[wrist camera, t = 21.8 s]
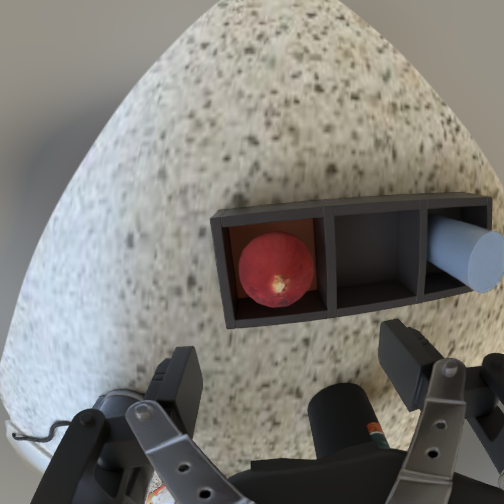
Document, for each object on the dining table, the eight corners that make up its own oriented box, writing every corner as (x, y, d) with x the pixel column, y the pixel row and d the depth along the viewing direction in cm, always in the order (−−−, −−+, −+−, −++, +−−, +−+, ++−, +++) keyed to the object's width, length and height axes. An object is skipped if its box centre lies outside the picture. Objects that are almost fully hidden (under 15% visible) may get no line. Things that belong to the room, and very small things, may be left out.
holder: (231, 304, 29) (226, 329, 24) (218, 210, 27) (209, 218, 22) (459, 272, 28) (485, 288, 23) (462, 191, 26) (492, 197, 21)
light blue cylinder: (413, 264, 27) (464, 298, 19) (414, 215, 26) (470, 233, 17) (451, 259, 27) (503, 287, 18) (452, 212, 26) (510, 229, 17)
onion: (306, 284, 28) (324, 325, 20) (244, 289, 28) (240, 332, 20) (303, 221, 26) (323, 241, 18) (237, 227, 26) (230, 249, 19)
